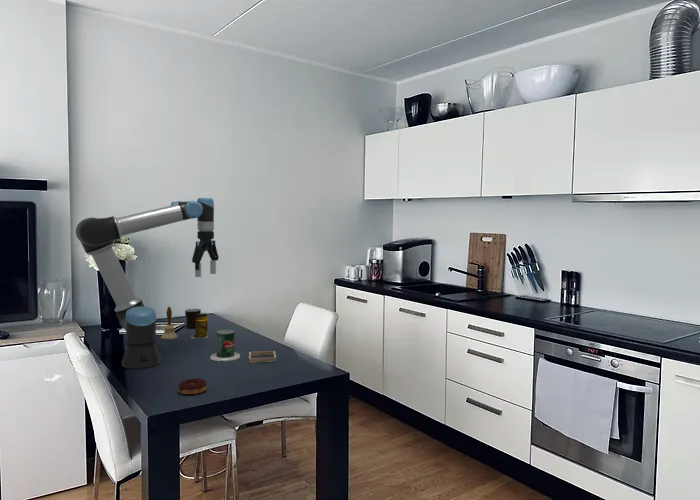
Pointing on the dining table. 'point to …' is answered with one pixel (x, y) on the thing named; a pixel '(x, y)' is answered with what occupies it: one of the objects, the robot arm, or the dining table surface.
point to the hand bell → (169, 327)
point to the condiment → (201, 326)
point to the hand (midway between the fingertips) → (205, 275)
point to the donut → (192, 386)
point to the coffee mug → (191, 317)
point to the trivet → (215, 358)
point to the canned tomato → (225, 343)
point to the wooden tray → (259, 353)
